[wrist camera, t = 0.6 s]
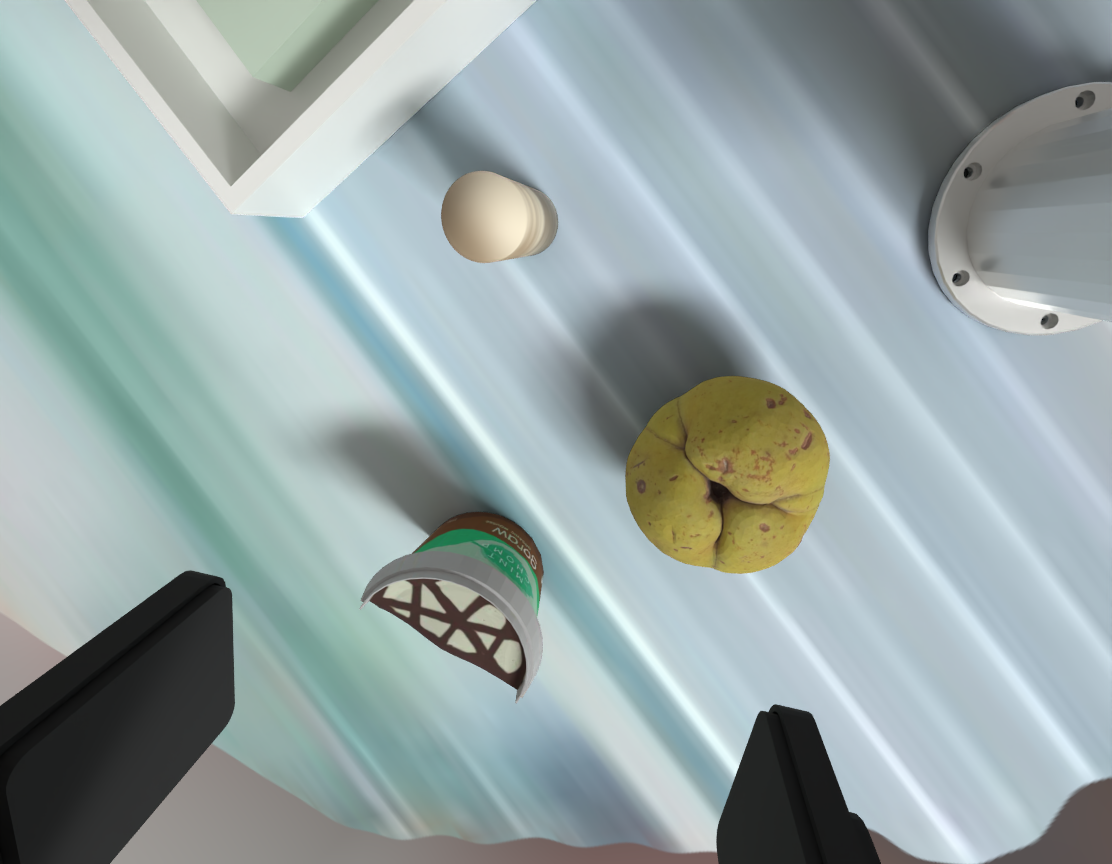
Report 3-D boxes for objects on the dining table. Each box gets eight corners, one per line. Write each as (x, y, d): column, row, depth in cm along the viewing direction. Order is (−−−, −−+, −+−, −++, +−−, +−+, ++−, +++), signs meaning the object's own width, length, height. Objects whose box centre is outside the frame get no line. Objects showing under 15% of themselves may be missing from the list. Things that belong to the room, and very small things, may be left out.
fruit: (836, 477, 38) (896, 555, 29) (676, 548, 42) (683, 638, 32) (760, 331, 36) (798, 365, 27) (598, 419, 40) (581, 476, 30)
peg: (533, 173, 35) (490, 151, 26) (570, 230, 36) (542, 228, 27) (482, 214, 36) (424, 207, 27) (520, 268, 37) (475, 279, 28)
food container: (592, 553, 43) (575, 642, 34) (550, 610, 45) (523, 708, 36) (450, 465, 42) (392, 531, 33) (414, 527, 45) (351, 604, 35)
